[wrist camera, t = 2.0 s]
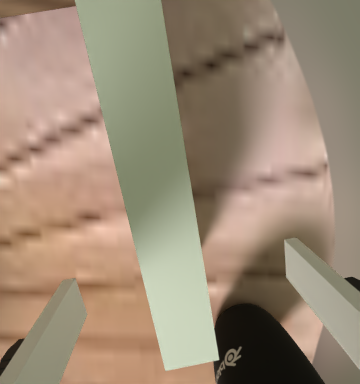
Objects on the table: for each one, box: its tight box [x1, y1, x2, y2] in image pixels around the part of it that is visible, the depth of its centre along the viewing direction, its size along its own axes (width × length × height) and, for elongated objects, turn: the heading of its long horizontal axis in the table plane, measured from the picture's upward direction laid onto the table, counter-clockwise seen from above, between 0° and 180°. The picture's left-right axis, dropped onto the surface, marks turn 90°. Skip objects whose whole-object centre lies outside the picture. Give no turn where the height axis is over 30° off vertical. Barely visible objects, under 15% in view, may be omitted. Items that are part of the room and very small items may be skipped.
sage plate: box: [75, 0, 219, 371], centre depth 17 cm, size 3×20×12 cm, turn 10°
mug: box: [214, 304, 325, 384], centre depth 23 cm, size 12×9×10 cm
